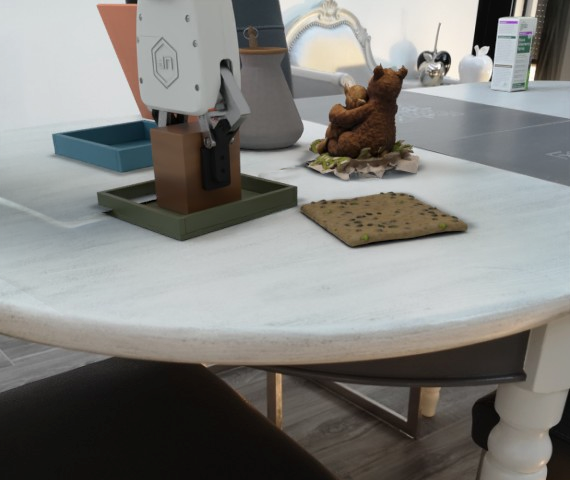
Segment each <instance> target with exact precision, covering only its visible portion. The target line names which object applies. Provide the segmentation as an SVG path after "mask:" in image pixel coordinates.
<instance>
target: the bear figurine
mask: <svg viewBox="0 0 570 480" xmlns="http://www.w3.org/2000/svg"><path fill="white" fill-rule="evenodd" d="M372 73H373V75H371V77H370V78H369V79H368V83H367V86H366V87H365V86H362V85H361V84H354V85H352V86H350V85H349V83H348V82H345V83H344V85H343V86H344V87H343V91H344V92H343V93H344V95H345V101H344V104H345V106H344V105H342V104H341V103H335V104H334V105H333V106H332V107H331V109H330V110H329V113H328V122H329V124H328V126H327V128H326V130H325V135H324V138H317V139H315V140H313V141H312V142H311V144H310V145H309V146H310V147H309V148H308V150H309V151H310V152H313V153H314V154H317V155H319V156H317V157H316V158H315V159H312V160H308V161H307V163H308V164H309V165H307V164H305V167H306V168H307V169H308V168H311V169H313V170H315V171H317V172H320V173H321V174H322V175H323V174H327V173H330V172H333V173H334V175H335V176H337V177H338V178H340V179H342V180H343V181H348V180H350V174H352V173H355V174H356V175H358V179H382V178H383V175H384V173H385V171H387V170H393V169H394V171H404V172H407V173H412V174H418V169H419V162H420V156H418V155H414V154H415V151H414V150H413V147H414V145H412V144H410V143H406V144H405V143H404V142H405V139H399V140H397V126H396V115H397V113H398V109H399V105H398V104H397V101H398V98H399V95H400V94H401V91H402V88H403V84H404V80H405V78H406V77H407V76H408V74H409V69H408V68H406V67H405V65H404V64H402V65H401V67H400V68H399V69H397V70H393V69H392V68H391V67H384V68H383V65H382V63H381V62H380V64H379V65H376V66H375V67H374V68H373V71H372ZM396 140H397V141H396ZM403 143H404V144H403ZM370 172H371V173H373V174H374V175H373V174H371V173H370Z"/></svg>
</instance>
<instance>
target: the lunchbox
mask: <svg viewBox="0 0 570 480" xmlns="http://www.w3.org/2000/svg"><path fill="white" fill-rule="evenodd" d="M157 127H158V126H157V124H156V122H155V121H153V120H148V119H140V120H135V121H128V122H127V121H126V122H121V123H114V124H108V125H101V126H95V127H87V128H82V129H76V130H75V129H74V130H68V131H61V132H54V133H52V134H51V138H52V143H53V149H54V154H55V155H57V156H62V157H64V158H68V159H72V160H75V161H79V162H83V163H87V164H90V165H92V166H97V167H100V168H104V169H108V170H110V171H115V172H118V173H128V172H133V171H137V170H143V169H147V168H152V167H153V157H152V147H151V137H150V129H151V128H157Z"/></svg>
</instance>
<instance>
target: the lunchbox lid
mask: <svg viewBox="0 0 570 480" xmlns="http://www.w3.org/2000/svg"><path fill="white" fill-rule="evenodd" d="M95 6H96V8H97V11H98V14H99V16H100V18H101V20H102V23H103V25H104V28H105V30H106V33H107V35H108V37H109V40H110V43H111V45H112V47H113V50H114V53H115V54H116V58H117V59H118V62H119V64H120V67H121V69H122V72H123V74H124V77H125V79H126V82H127V84H128V87H129V89H130V91H131V93H132V97H133V99H134V101H135V104H136V106H137V108H138V111H139V113H140V115H141V118H142V119H144V120H149V121H154V119H153V117H152V113H151V112H150V111H149V109H148V108H147V107H146V105H145V104H144V103H143V101H142V100H141V96H140V88H139V77H138V62H137V39H136V18H137V3H98V4H96V5H95ZM208 111H210V109H208ZM174 115H175V117H176V116H177V113H176V114H174ZM194 121H199V120H198V116H193V115H188V122H194ZM211 121H214V118H212V119H211Z"/></svg>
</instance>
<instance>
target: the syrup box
mask: <svg viewBox="0 0 570 480" xmlns="http://www.w3.org/2000/svg"><path fill="white" fill-rule="evenodd" d="M537 26H538V17H536V16H528V15H527V16H503V17H499V18H498V23H497V32H496V41H495V48H494V56H493V57H494V58H493V67H492V74H491V83H490V89H491V90H494V91H500V92H507V93H508V92H509V93H512V92H518V91H527V90H528V88H529V81H530V73H531V66H532V60H533V52H534V45H535V40H536V39H535V38H536V33H537Z"/></svg>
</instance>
